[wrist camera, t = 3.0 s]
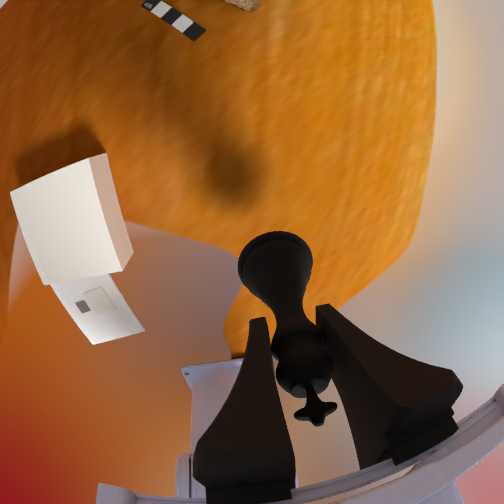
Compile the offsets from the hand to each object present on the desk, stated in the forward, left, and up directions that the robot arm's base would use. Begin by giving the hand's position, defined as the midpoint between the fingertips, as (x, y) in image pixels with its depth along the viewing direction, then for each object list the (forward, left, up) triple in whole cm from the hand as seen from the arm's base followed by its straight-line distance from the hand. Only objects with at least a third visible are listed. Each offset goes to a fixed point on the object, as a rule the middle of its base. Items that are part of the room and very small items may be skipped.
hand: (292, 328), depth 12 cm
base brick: (+5, +14, -10) cm, 18 cm away
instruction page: (-3, +16, -10) cm, 19 cm away
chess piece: (+1, 0, -5) cm, 5 cm away
